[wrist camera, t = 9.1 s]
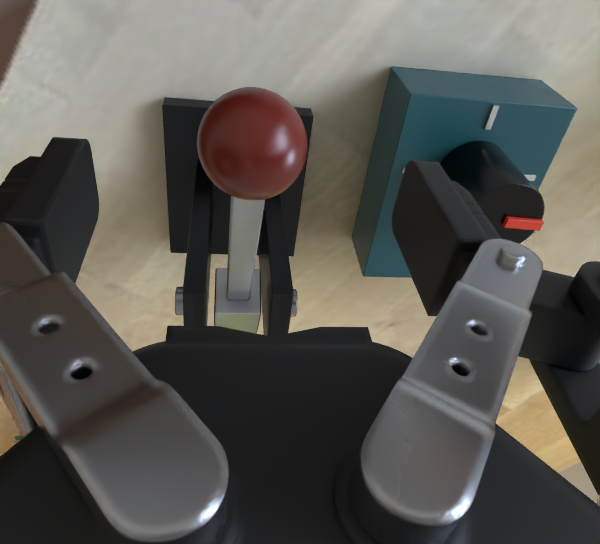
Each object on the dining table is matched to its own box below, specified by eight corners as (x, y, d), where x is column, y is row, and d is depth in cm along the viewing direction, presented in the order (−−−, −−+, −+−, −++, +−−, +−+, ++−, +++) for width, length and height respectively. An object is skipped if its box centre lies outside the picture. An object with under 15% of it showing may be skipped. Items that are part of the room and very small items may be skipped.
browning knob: (424, 201, 32) (452, 253, 28) (449, 136, 29) (484, 183, 25) (488, 207, 32) (524, 258, 28) (518, 144, 30) (562, 191, 26)
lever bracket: (164, 97, 30) (127, 230, 20) (311, 108, 32) (349, 238, 21) (171, 243, 37) (148, 398, 27) (292, 247, 39) (314, 396, 28)
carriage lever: (197, 57, 14) (192, 149, 12) (313, 67, 14) (319, 157, 13) (206, 283, 27) (204, 340, 26) (265, 285, 28) (266, 341, 26)
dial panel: (390, 65, 30) (411, 95, 27) (541, 80, 32) (579, 109, 28) (351, 238, 39) (363, 278, 35) (472, 243, 40) (495, 281, 37)
